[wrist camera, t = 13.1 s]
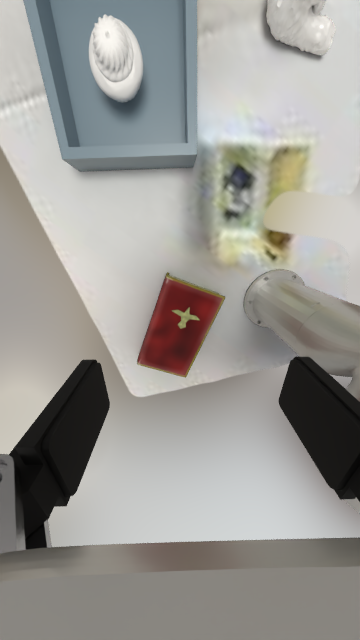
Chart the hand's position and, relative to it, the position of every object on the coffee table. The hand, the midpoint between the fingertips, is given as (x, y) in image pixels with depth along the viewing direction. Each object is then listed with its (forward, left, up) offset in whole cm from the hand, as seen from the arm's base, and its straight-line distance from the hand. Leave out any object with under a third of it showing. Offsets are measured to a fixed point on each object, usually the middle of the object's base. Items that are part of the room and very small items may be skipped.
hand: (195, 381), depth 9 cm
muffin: (+6, -25, -29) cm, 39 cm away
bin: (+6, -26, -30) cm, 40 cm away
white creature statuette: (-16, -32, -30) cm, 46 cm away
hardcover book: (+1, +12, -30) cm, 32 cm away
